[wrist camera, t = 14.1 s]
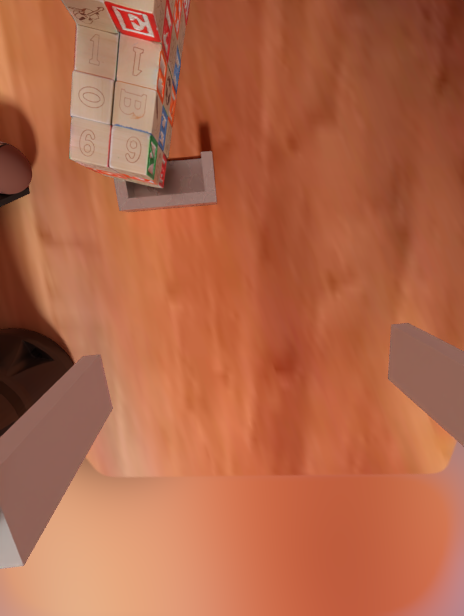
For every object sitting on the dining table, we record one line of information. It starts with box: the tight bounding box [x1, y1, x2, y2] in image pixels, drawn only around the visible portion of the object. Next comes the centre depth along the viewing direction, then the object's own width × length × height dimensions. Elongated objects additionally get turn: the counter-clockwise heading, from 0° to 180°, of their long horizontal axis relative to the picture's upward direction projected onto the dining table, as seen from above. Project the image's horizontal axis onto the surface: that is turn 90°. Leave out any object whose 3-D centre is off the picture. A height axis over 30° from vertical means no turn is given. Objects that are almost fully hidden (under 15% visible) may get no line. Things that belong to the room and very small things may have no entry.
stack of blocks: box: [62, 0, 190, 188], centre depth 24 cm, size 21×6×12 cm, turn 168°
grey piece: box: [114, 151, 217, 212], centre depth 34 cm, size 11×5×4 cm, turn 95°
